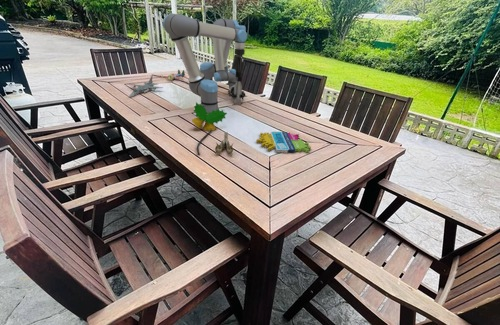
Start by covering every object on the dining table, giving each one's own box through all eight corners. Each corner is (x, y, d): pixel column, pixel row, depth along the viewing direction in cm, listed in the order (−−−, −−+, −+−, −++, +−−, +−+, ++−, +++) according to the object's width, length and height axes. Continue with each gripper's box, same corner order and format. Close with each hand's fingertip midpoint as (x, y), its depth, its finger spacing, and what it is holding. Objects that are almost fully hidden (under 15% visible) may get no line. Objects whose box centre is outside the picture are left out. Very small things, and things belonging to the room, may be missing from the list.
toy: (193, 70, 288) (180, 75, 262) (193, 77, 292) (181, 82, 266) (170, 68, 293) (155, 72, 267) (170, 75, 297) (156, 79, 271)
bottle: (235, 102, 218) (236, 77, 208) (242, 103, 217) (243, 78, 207) (232, 104, 213) (233, 78, 203) (239, 105, 211) (240, 79, 202)
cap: (234, 80, 205) (234, 77, 203) (237, 79, 208) (237, 76, 207) (239, 81, 203) (239, 78, 202) (242, 80, 207) (242, 77, 206)
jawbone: (234, 135, 144) (233, 125, 135) (233, 160, 138) (232, 151, 129) (217, 135, 144) (216, 125, 135) (216, 160, 138) (214, 150, 129)
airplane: (123, 87, 237) (120, 75, 231) (158, 84, 250) (157, 74, 245) (127, 99, 208) (125, 87, 203) (167, 96, 221) (166, 84, 216)
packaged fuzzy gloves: (313, 150, 142) (258, 149, 139) (312, 153, 143) (258, 152, 140) (301, 132, 164) (254, 130, 161) (301, 134, 165) (254, 133, 162)
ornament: (218, 133, 171) (224, 110, 169) (221, 134, 163) (227, 111, 161) (186, 125, 162) (192, 101, 160) (189, 126, 155) (195, 101, 153)
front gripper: (249, 50, 189) (247, 83, 200) (239, 47, 203) (238, 78, 214) (239, 50, 186) (238, 83, 197) (230, 47, 200) (230, 78, 211)
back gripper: (245, 94, 231) (250, 102, 211) (223, 94, 227) (226, 102, 207) (245, 86, 227) (250, 93, 207) (223, 85, 223) (226, 92, 204)
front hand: (238, 80), depth 206 cm, fingers closed on cap, 4 cm apart
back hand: (238, 97), depth 207 cm, fingers closed on bottle, 6 cm apart
